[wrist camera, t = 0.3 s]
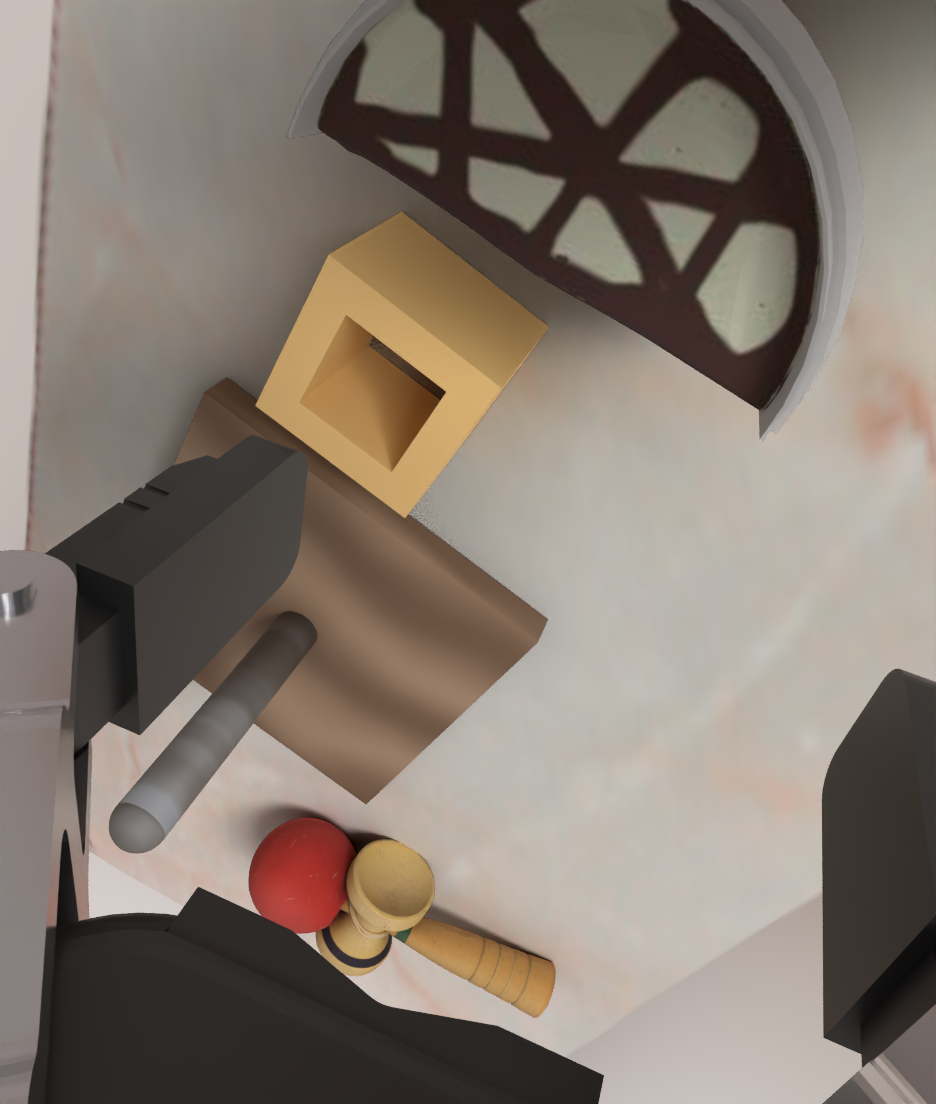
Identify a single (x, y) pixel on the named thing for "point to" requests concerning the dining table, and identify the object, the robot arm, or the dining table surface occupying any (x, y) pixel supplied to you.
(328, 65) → the food container
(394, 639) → the needle stand
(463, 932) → the kendama
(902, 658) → the dining table surface
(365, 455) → the tan hollow square block
